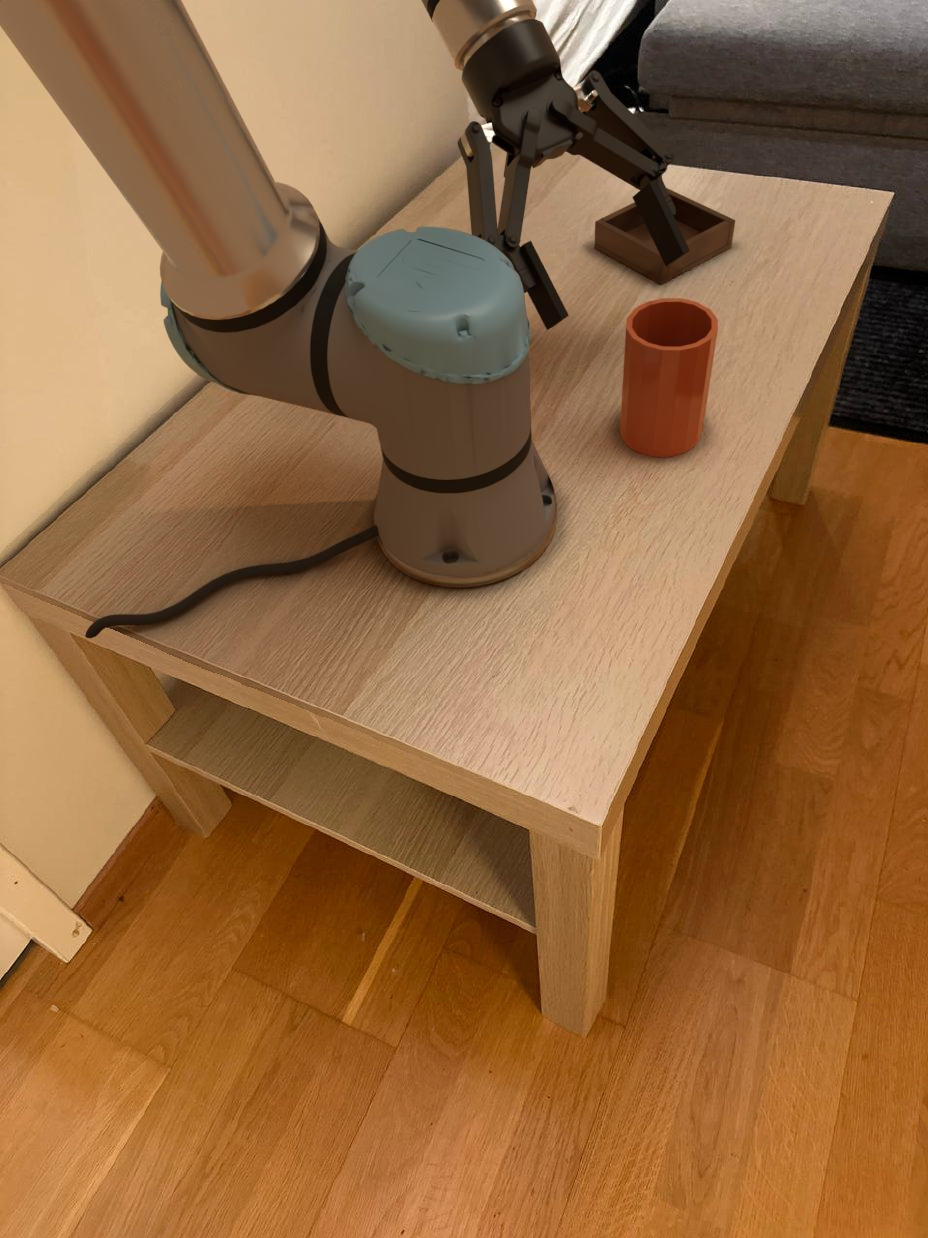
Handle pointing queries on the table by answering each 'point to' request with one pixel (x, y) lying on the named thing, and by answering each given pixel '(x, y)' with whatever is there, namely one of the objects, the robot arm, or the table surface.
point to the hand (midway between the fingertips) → (619, 290)
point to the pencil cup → (666, 375)
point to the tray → (637, 250)
